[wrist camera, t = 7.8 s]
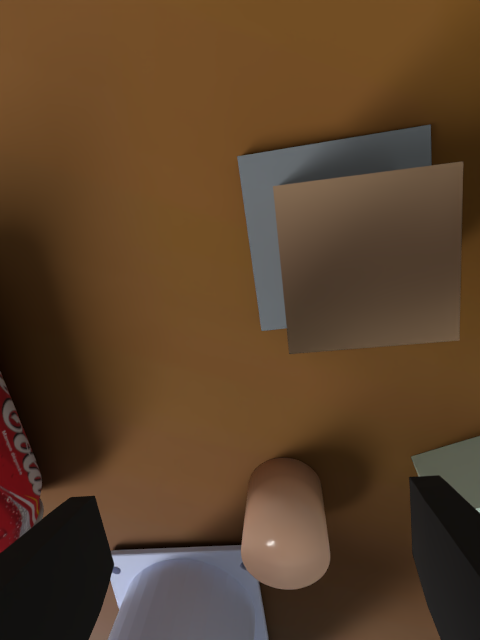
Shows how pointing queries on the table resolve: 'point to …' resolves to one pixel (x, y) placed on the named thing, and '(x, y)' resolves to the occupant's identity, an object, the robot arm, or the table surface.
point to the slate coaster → (307, 166)
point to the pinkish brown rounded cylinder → (285, 525)
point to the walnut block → (371, 258)
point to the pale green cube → (455, 467)
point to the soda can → (16, 476)
